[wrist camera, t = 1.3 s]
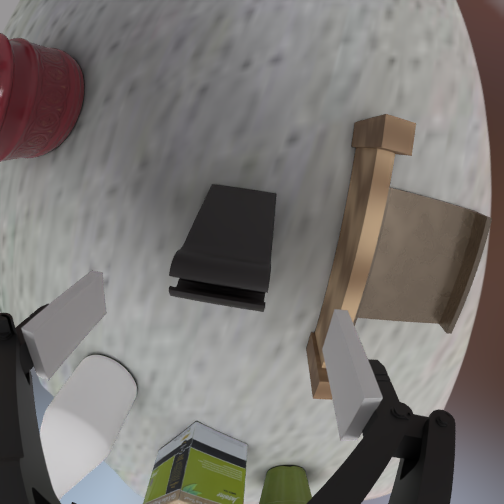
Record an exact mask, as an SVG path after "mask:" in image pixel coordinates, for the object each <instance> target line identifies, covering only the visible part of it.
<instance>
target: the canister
mask: <svg viewBox="0 0 504 504" xmlns="http://www.w3.org/2000/svg"><path fill="white" fill-rule="evenodd" d="M83 97H84V78H83V74H82V70H81V68H80V66H79V64H78V63H77V61H76V60H75V59H74V58H72V57H71V56H70V55H69V54H68V53H66V52H64V51H62V50H59V49H55V48H47V47H44V46H40V45H37V44H33V43H30V42H28V41H27V40H25V39H22V38H14V39H10V40H8V38H7V37H6V36H5V35H4V34H2V33H0V162H1V161H6V160H11V159H17V158H33V157H39V156H42V155H44V154H46V153H48V152H50V151H52V150H54V149H55V148H57V147H58V146H59V145H60V144H61V143H62V142H63V141H64V140H65V139H66V138H67V136H68V135H69V134H70V132H71V131H72V129H73V127H74V125H75V123H76V121H77V119H78V116H79V113H80V110H81V107H82V103H83Z"/></svg>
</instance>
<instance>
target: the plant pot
mask: <svg viewBox="0 0 504 504" xmlns="http://www.w3.org/2000/svg"><path fill="white" fill-rule="evenodd" d="M311 498H312V496H311V492H310V488H309V485H308V480H307V477H306V473H305V470H304V469H302V468H300V467H297V466H291V467H286V466H279V467H275V468H272V469H270V470H269V471H268V472H267V474H266V478H265V482H264V486H263V490H262V494H261V498H260V502H259V504H306V503H307V502H308V501H309V500H310V499H311Z"/></svg>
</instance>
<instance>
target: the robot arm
mask: <svg viewBox="0 0 504 504" xmlns="http://www.w3.org/2000/svg"><path fill="white" fill-rule="evenodd" d="M106 313H107V312H106V304H105V294H104V283H103V272H98V271H93V270H92V271H91V272H89V273H88V274H87V275H85V276H84V277H83V278H81V279H80V280H79V281H78V282H76V283H75V284H74V285H73V286H71V287H70V288H69V289H67V290H66V291H65V292H64V293H62V294H61V295H60V296H59V297H58V298H56V299H55V300H54V301H53V302H51V303H50V304H46V305H44V306H42V307H40V308H38V309H37V310H36V311H35V312H34V313H32V314H31V315H30V316H29V317H28V318H26V319H25V320H24V321H23V322H22V323H21V324H19V325H18V326H17V327H16V328H15V325H14V322H13V318H12V316H11V315H10V314H8V313H0V504H61V503H60V501H59V499H58V498H57V496H56V494H55V492H54V490H53V487H52V484H51V480H50V477H49V473H48V469H47V465H46V461H45V457H44V453H43V449H42V444H41V439H40V434H39V429H38V423H37V417H36V410H35V402H34V395H33V385H32V375H31V372H30V370H31V369H32V367H33V366H34V368H35V371H36V373H37V375H38V376H40V377H42V378H44V379H46V380H48V381H49V379H50V378H51V377H52V376H53V375H54V373H55V372H56V371H57V370H58V368H59V367H60V366H61V365H62V364H63V362H64V361H65V360H66V359H67V358H68V357H69V355H70V354H71V353H72V352H73V351H74V349H75V348H76V347H77V346H78V345H79V344H80V343H81V341H82V340H83V339H84V338H85V337H86V336H87V335H88V333H89V332H90V331H91V330H92V329H93V328H94V327H95V325H96V324H97V323H98V322H99V321H100V320H101V319H102V318H103V317H104V315H105V314H106ZM322 351H323V355H324V360H325V365H326V369H327V374H328V379H329V384H330V389H331V394H332V399H333V404H334V409H335V414H336V419H337V424H338V430H339V435H340V441H349V440H358V438H359V437H360V435H361V433H363V439H362V440H361V441H360V443H359V444H358V445H357V447H356V448H355V449H354V450H353V452H352V453H351V454H350V455H349V457H348V458H347V459H346V460H345V462H344V463H343V464H342V465H341V466H340V468H339V469H338V470H337V471H336V472H335V473H334V475H333V476H332V477H331V478H330V479H329V480H328V481H327V482H326V484H325V485H324V486H323V487H322V488H321V489H320V490H319V491H318V492H317V493H316V494H315V495H314V496H313V497H312V498H311V499H310V500H309V501H308V502H307V503H306V504H361V502H362V501H363V500H364V499H365V497H366V496H367V494H368V493H369V492H370V490H371V489H372V487H373V486H374V484H375V483H376V481H377V480H378V478H379V477H380V475H381V474H382V472H383V471H384V469H385V468H386V466H387V464H388V463H389V461H390V459H391V458H392V457H397V458H400V463H399V467H398V471H397V475H396V479H395V482H394V486H393V489H392V493H391V496H390V500H389V503H388V504H450V499H451V492H452V483H453V472H454V458H455V420H454V418H453V416H452V415H451V414H449V413H448V412H446V411H444V410H435V411H433V412H432V413H431V414H430V416H429V417H425V416H420V415H415V414H413V412H412V410H411V409H410V407H409V406H407V405H406V404H404V403H401V402H399V399H398V397H397V395H396V392H395V390H394V388H393V385H392V383H391V382H390V378H389V376H388V374H387V371H386V369H385V367H384V366H383V365H382V364H381V363H380V362H379V361H378V360H368V358H367V356H366V353H365V351H364V348H363V346H362V343H361V341H360V338H359V336H358V334H357V331H356V329H355V326H354V324H353V322H352V319H351V317H350V315H349V312H348V310H339V309H334V312H333V316H332V319H331V323H330V326H329V329H328V333H327V336H326V339H325V342H324V345H323V348H322ZM72 504H76V503H73V502H72Z"/></svg>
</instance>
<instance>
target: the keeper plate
mask: <svg viewBox="0 0 504 504" xmlns="http://www.w3.org/2000/svg"><path fill="white" fill-rule="evenodd" d="M491 220H492V219H491V218H490V217H488V216H485V215H483V214H481V213H478V212H476V211H473V210H470V209H466V208H463V207H460V206H457V205H453V204H450V203H447V202H443V201H440V200H436V199H433V198H429V197H425V196H422V195H418V194H414V193H410V192H406V191H402V190H398V189H394V188H390V187H389V191H388V196H387V201H386V206H385V210H384V215H383V219H382V224H381V228H380V232H379V236H378V240H377V244H376V248H375V252H374V256H373V259H372V263H371V267H370V270H369V274H368V277H367V281H366V284H365V288H364V291H363V294H362V297H361V301H360V304H359V307H358V310H357V313H356V316H355V319H354V322H353V324H354V326H355V323H356V320H357V318H368V319H380V320H392V321H406V322H421V323H438V324H440V326H441V327H442V328H443V329H444V331H445V332H446V333H452V331H453V329H454V327H455V324H456V322H457V320H458V318H459V315H460V313H461V311H462V308H463V306H464V303H465V301H466V298H467V296H468V293H469V291H470V288H471V285H472V283H473V280H474V277H475V274H476V271H477V268H478V265H479V262H480V259H481V256H482V253H483V250H484V246H485V243H486V239H487V236H488V232H489V228H490V224H491Z"/></svg>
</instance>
